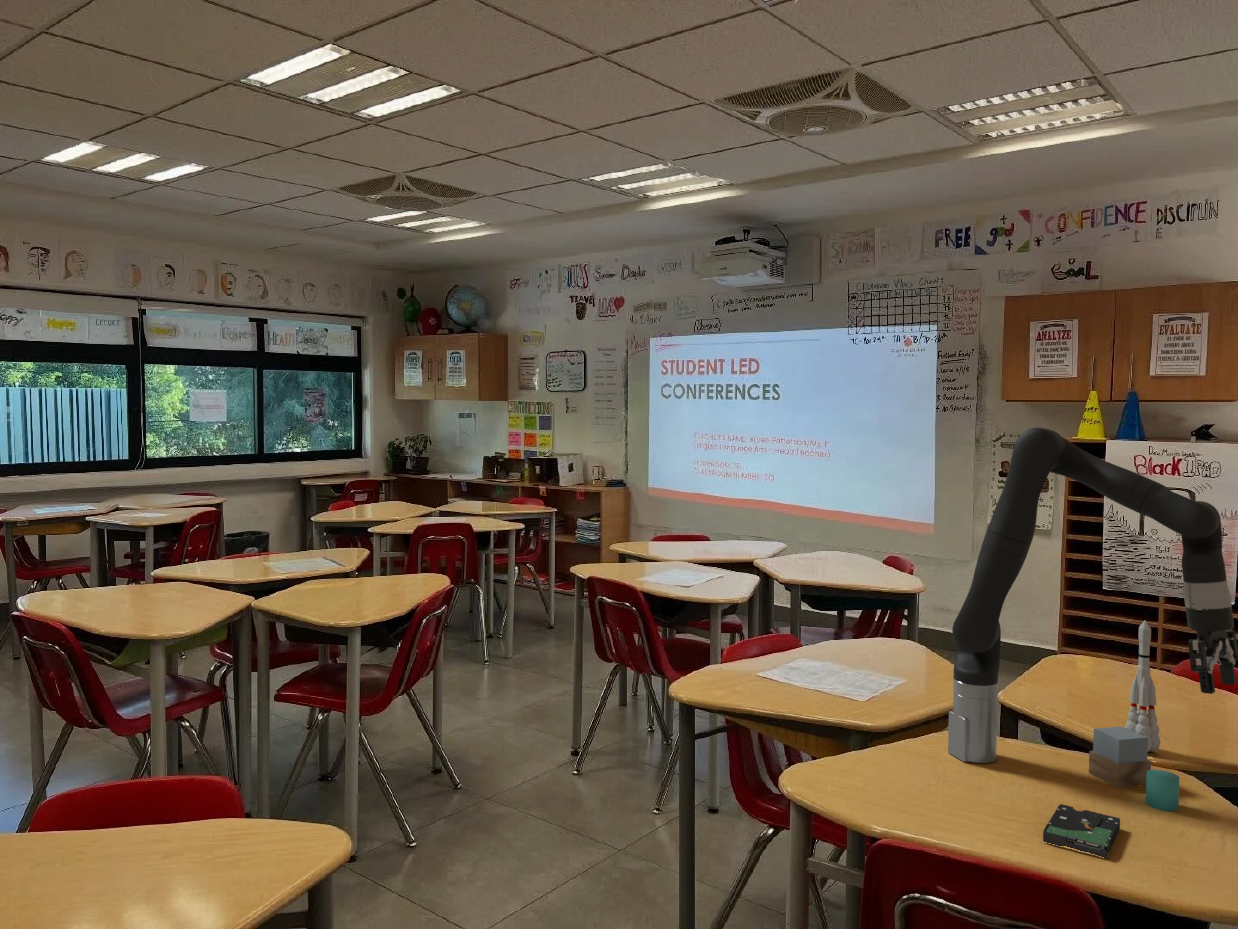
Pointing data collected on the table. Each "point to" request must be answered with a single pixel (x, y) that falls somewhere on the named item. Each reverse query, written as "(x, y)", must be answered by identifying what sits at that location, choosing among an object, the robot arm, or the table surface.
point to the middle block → (1120, 745)
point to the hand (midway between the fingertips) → (1218, 688)
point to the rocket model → (1144, 695)
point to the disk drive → (1082, 830)
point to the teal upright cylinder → (1162, 790)
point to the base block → (1118, 771)
